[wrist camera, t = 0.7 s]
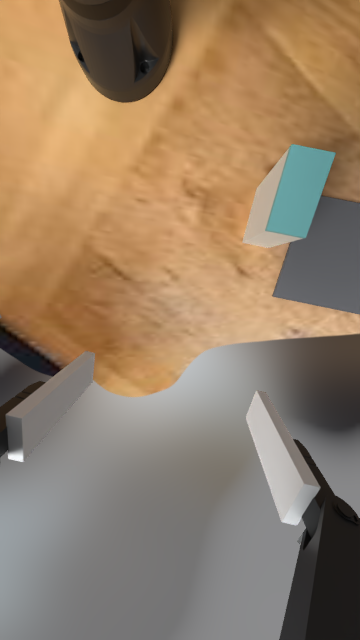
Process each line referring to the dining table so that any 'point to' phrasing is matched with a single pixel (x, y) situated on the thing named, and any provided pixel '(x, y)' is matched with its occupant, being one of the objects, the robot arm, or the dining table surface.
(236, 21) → the dining table surface
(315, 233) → the rubber mat
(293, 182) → the grey teal block
